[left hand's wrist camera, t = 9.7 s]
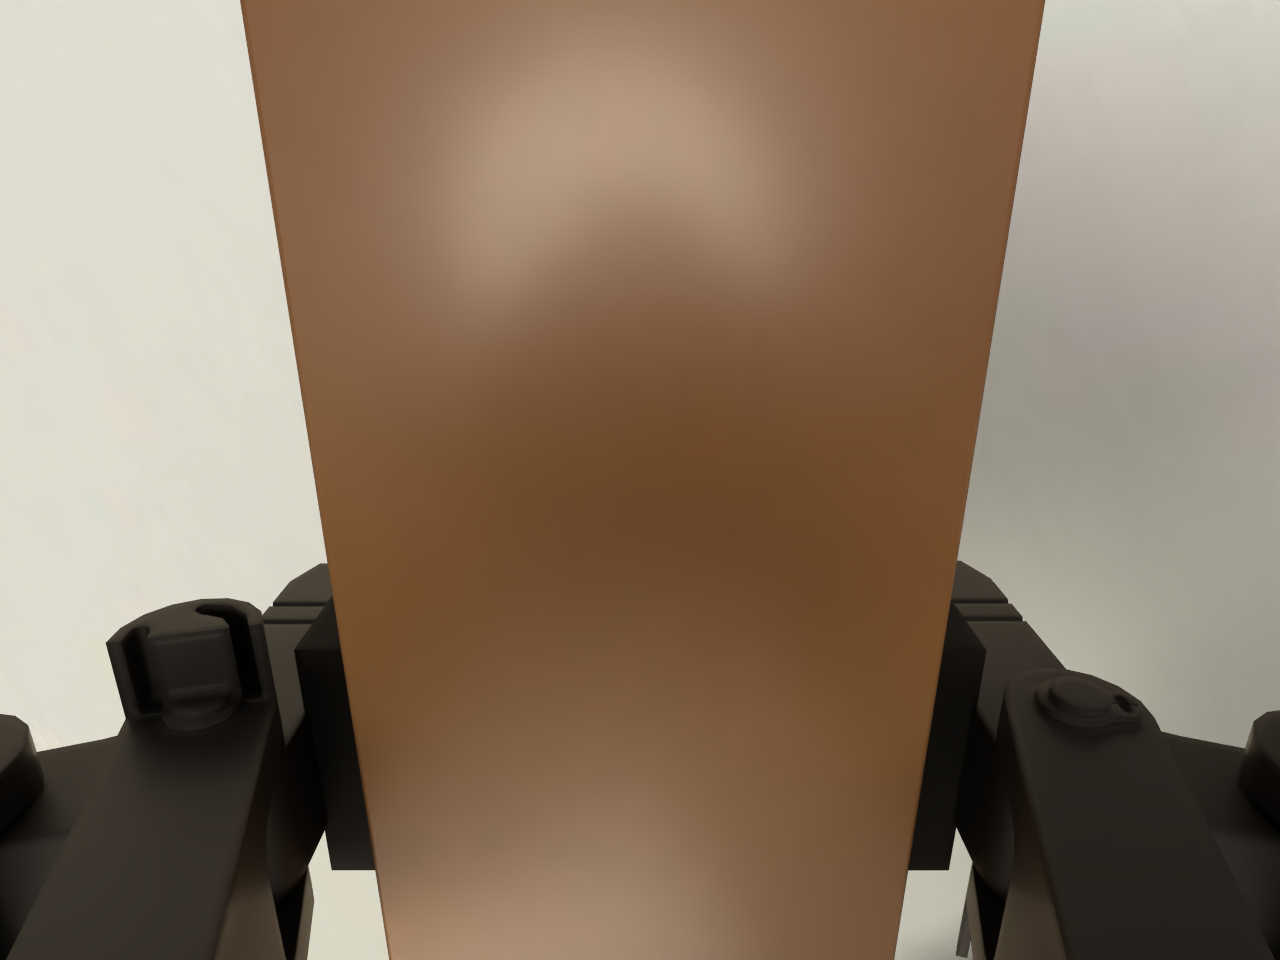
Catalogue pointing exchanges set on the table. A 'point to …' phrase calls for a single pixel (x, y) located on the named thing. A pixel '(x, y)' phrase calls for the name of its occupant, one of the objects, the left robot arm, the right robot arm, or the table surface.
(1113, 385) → the table surface
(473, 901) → the bar
